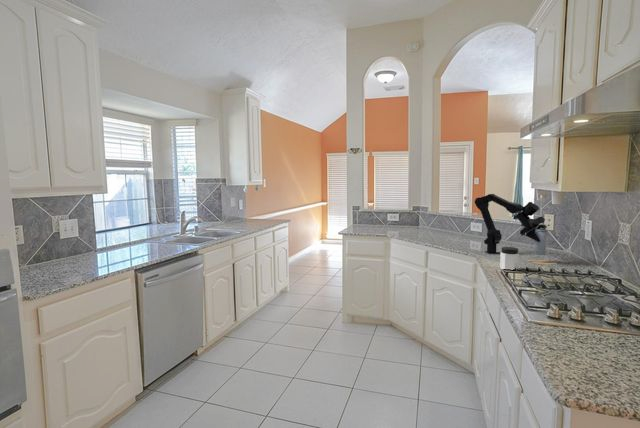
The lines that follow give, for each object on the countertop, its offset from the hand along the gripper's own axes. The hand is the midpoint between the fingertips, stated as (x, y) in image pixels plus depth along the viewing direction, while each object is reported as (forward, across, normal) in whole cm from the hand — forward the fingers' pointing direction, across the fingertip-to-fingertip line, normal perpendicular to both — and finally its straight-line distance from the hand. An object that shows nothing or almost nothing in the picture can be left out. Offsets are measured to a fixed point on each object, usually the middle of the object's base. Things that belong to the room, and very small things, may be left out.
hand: (542, 241), depth 206 cm
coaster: (+9, 0, +9) cm, 13 cm away
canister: (+5, 0, +7) cm, 8 cm away
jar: (+9, -29, +10) cm, 32 cm away
